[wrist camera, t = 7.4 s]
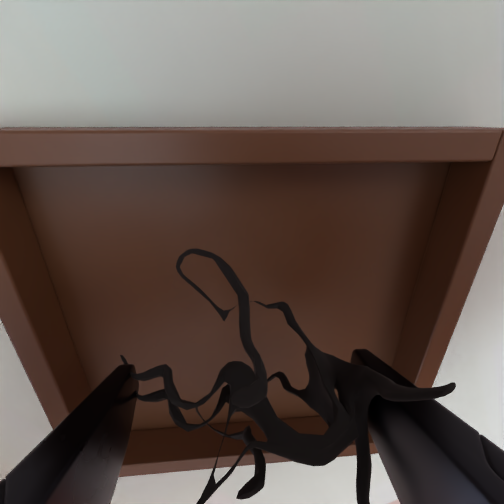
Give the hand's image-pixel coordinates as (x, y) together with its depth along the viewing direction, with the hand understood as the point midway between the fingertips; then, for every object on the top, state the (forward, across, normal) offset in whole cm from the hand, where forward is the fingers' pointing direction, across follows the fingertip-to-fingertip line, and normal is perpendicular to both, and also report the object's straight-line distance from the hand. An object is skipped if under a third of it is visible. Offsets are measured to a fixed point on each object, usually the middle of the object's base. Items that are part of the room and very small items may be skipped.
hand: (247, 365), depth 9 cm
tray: (+3, 0, 0) cm, 3 cm away
